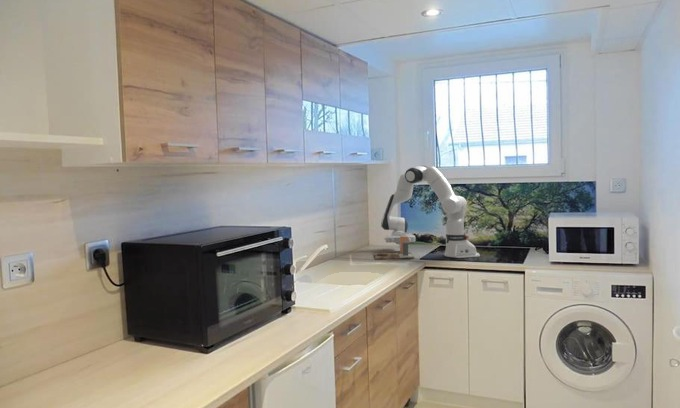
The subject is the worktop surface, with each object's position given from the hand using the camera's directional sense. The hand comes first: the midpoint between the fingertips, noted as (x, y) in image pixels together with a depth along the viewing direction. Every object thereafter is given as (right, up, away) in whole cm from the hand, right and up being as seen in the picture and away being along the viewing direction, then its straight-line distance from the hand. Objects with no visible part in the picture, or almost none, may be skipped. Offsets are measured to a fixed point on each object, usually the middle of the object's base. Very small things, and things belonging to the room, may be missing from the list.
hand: (401, 240), depth 337 cm
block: (+1, -9, -8) cm, 12 cm away
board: (-7, -11, -10) cm, 16 cm away
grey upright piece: (0, -9, -16) cm, 19 cm away
